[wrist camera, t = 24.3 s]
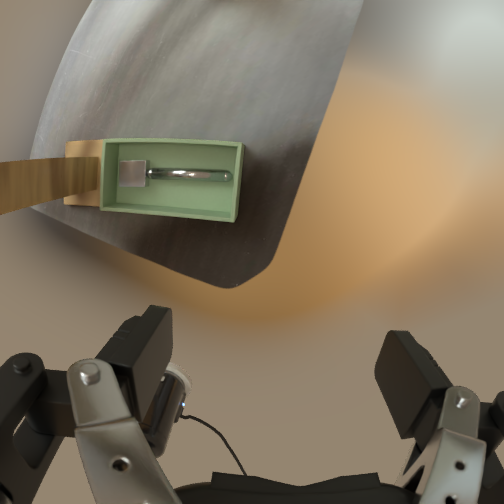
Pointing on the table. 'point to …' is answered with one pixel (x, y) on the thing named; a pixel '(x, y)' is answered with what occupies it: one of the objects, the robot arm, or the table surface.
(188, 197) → the bin
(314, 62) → the table surface
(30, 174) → the shelf stand
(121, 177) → the silver square-headed tool
